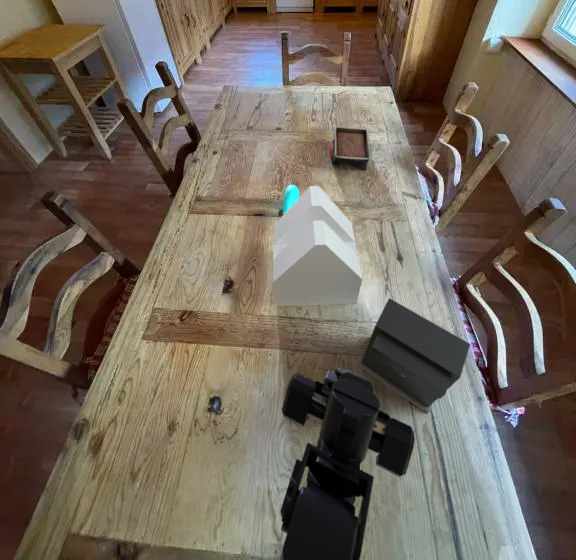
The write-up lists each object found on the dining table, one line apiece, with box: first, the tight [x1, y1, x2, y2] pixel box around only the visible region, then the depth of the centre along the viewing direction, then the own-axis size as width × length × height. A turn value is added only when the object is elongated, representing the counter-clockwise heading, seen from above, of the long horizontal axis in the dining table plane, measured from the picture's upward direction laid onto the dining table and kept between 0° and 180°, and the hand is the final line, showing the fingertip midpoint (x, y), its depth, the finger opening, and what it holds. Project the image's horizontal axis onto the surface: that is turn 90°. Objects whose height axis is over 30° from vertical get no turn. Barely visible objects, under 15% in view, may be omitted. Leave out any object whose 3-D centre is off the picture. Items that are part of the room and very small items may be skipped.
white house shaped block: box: [272, 185, 363, 307], centre depth 78 cm, size 19×15×25 cm
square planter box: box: [328, 126, 373, 171], centre depth 116 cm, size 14×18×10 cm
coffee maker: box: [357, 297, 471, 414], centre depth 63 cm, size 10×15×20 cm, turn 55°
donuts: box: [282, 184, 300, 216], centre depth 98 cm, size 10×10×10 cm
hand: (351, 391), depth 58 cm, fingers closed on cork, 5 cm apart
